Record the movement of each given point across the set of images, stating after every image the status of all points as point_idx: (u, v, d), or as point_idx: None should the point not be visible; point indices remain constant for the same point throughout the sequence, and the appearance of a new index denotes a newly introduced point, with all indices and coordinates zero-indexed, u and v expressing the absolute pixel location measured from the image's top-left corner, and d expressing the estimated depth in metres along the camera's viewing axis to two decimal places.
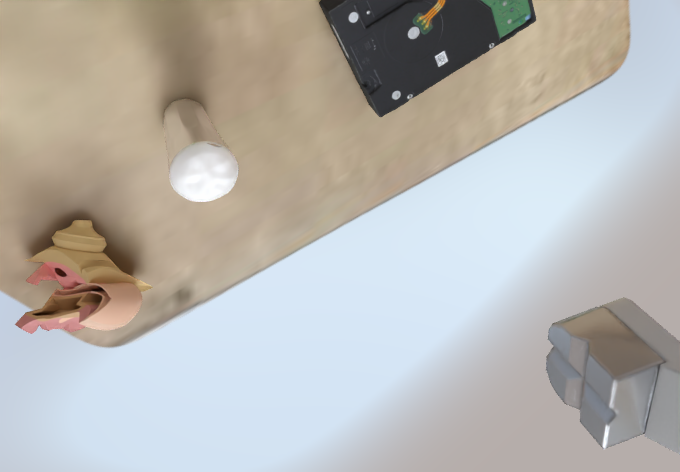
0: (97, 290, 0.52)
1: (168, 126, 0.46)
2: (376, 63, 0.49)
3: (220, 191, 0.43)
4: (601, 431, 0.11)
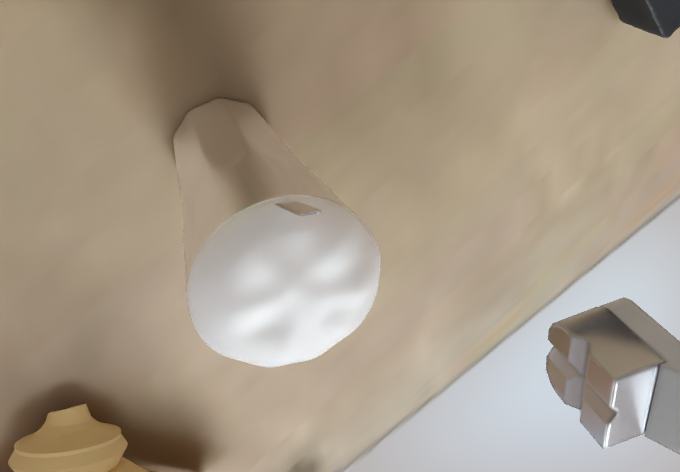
0: None
1: (179, 175, 0.18)
2: None
3: (342, 330, 0.15)
4: (600, 431, 0.11)
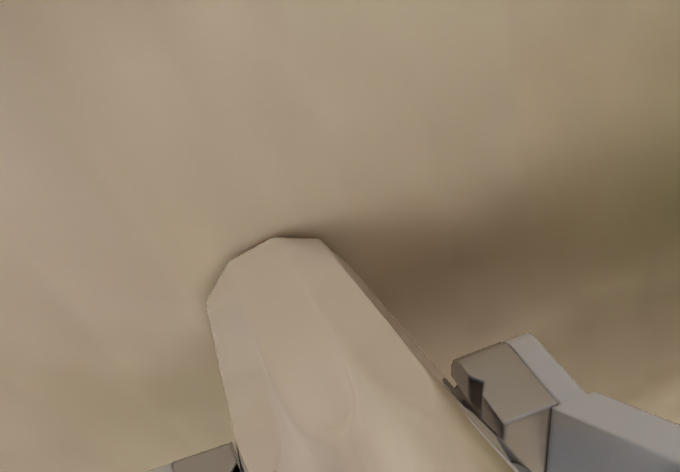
0: None
1: (386, 318, 0.11)
2: None
3: None
4: None
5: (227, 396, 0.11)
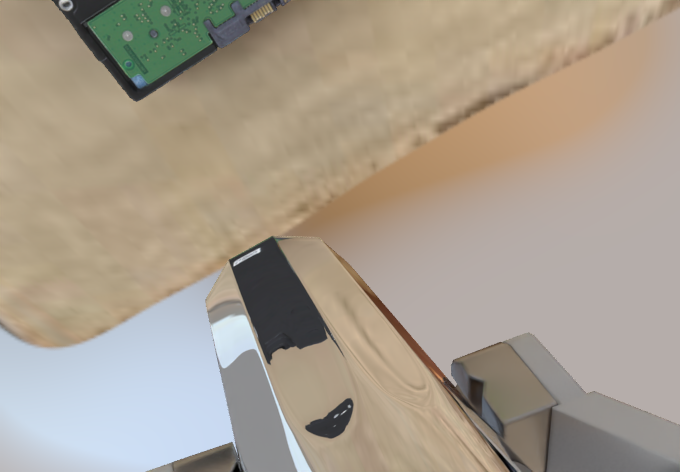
0: None
1: (386, 317, 0.11)
2: None
3: None
4: None
5: (227, 395, 0.11)
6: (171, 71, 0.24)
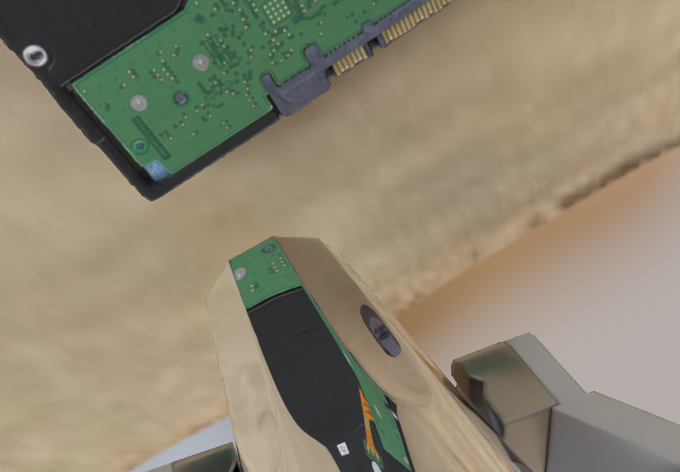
0: None
1: (386, 317, 0.11)
2: None
3: None
4: None
5: (227, 395, 0.11)
6: (207, 154, 0.15)
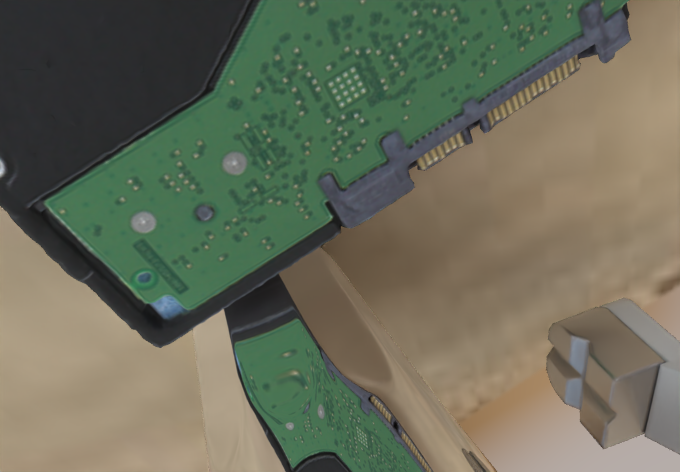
0: None
1: (357, 307, 0.11)
2: None
3: None
4: (600, 431, 0.11)
5: (199, 378, 0.11)
6: (239, 282, 0.11)
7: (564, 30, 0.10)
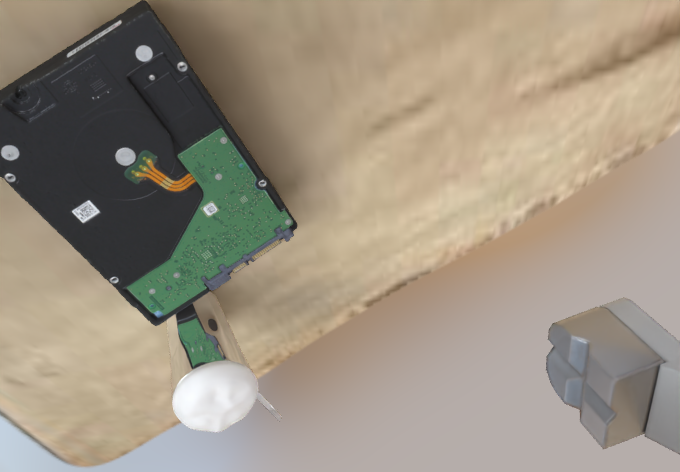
0: None
1: (215, 313, 0.38)
2: (68, 106, 0.29)
3: (201, 425, 0.34)
4: (601, 431, 0.11)
5: (168, 335, 0.38)
6: (179, 306, 0.37)
7: (270, 235, 0.37)
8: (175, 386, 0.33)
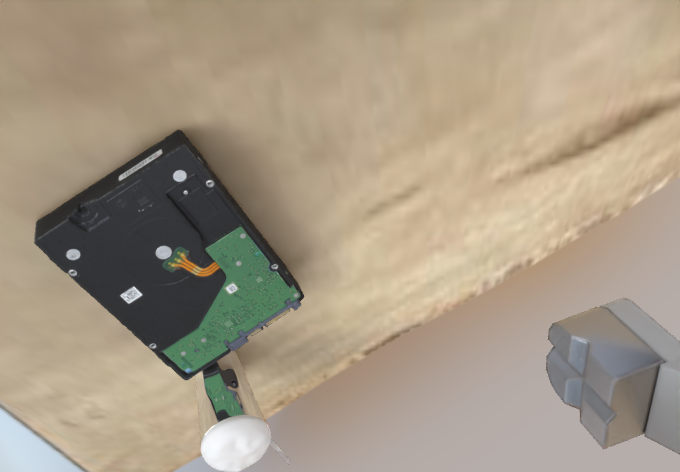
0: None
1: (235, 369, 0.45)
2: (119, 218, 0.37)
3: (224, 467, 0.41)
4: (601, 431, 0.11)
5: (196, 387, 0.45)
6: (205, 364, 0.45)
7: (281, 306, 0.44)
8: (203, 436, 0.41)
